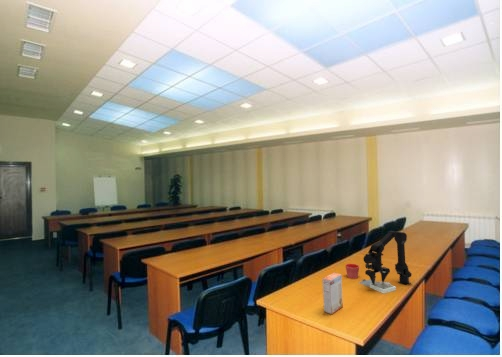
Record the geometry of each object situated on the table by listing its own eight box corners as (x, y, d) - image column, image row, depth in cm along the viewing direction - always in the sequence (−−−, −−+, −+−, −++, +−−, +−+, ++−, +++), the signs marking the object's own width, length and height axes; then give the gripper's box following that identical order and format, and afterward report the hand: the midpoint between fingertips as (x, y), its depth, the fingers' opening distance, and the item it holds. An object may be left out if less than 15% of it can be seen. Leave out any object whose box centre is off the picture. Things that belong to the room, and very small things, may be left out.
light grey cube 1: (385, 287, 198) (385, 281, 198) (390, 289, 194) (390, 283, 195) (382, 288, 196) (381, 282, 196) (386, 290, 193) (386, 284, 193)
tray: (381, 285, 204) (381, 281, 204) (395, 290, 193) (395, 286, 193) (369, 288, 199) (369, 283, 199) (383, 294, 188) (383, 289, 188)
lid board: (370, 279, 217) (370, 278, 217) (381, 283, 206) (381, 282, 206) (356, 282, 211) (356, 280, 211) (367, 287, 201) (367, 285, 201)
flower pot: (351, 280, 216) (350, 268, 216) (343, 276, 226) (342, 264, 226) (362, 278, 218) (362, 266, 219) (353, 274, 229) (353, 263, 229)
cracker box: (334, 304, 175) (333, 272, 175) (343, 307, 170) (342, 274, 171) (323, 311, 165) (321, 277, 166) (332, 315, 161) (330, 280, 161)
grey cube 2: (378, 287, 199) (378, 281, 199) (382, 289, 195) (382, 283, 195) (374, 287, 198) (373, 282, 198) (377, 290, 194) (377, 284, 194)
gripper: (377, 257, 208) (378, 277, 207) (359, 260, 201) (360, 281, 200) (390, 261, 197) (390, 282, 197) (371, 264, 190) (371, 286, 190)
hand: (378, 283), depth 196 cm, fingers open, 9 cm apart
